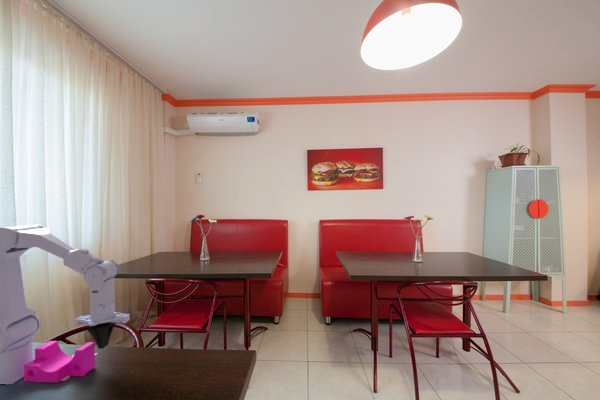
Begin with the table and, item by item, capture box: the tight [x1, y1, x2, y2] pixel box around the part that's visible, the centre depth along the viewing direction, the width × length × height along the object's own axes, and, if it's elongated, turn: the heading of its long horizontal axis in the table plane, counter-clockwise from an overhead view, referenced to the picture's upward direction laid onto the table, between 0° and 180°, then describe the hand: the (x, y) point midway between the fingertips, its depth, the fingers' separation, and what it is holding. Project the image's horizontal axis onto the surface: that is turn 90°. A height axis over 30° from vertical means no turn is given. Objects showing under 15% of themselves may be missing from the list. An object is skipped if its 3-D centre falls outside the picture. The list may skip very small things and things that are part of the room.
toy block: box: [23, 340, 96, 384], centre depth 66 cm, size 15×6×8 cm, turn 85°
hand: (103, 346), depth 69 cm, fingers closed
